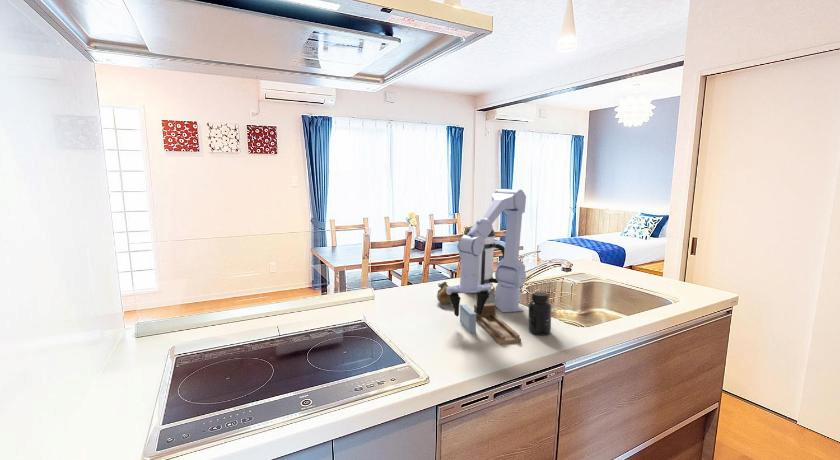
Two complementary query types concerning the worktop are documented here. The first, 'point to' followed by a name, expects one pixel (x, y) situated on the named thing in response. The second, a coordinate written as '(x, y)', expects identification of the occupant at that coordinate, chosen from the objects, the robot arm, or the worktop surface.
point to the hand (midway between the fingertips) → (467, 314)
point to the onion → (443, 294)
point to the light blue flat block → (468, 318)
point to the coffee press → (487, 259)
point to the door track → (495, 325)
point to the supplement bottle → (539, 314)
